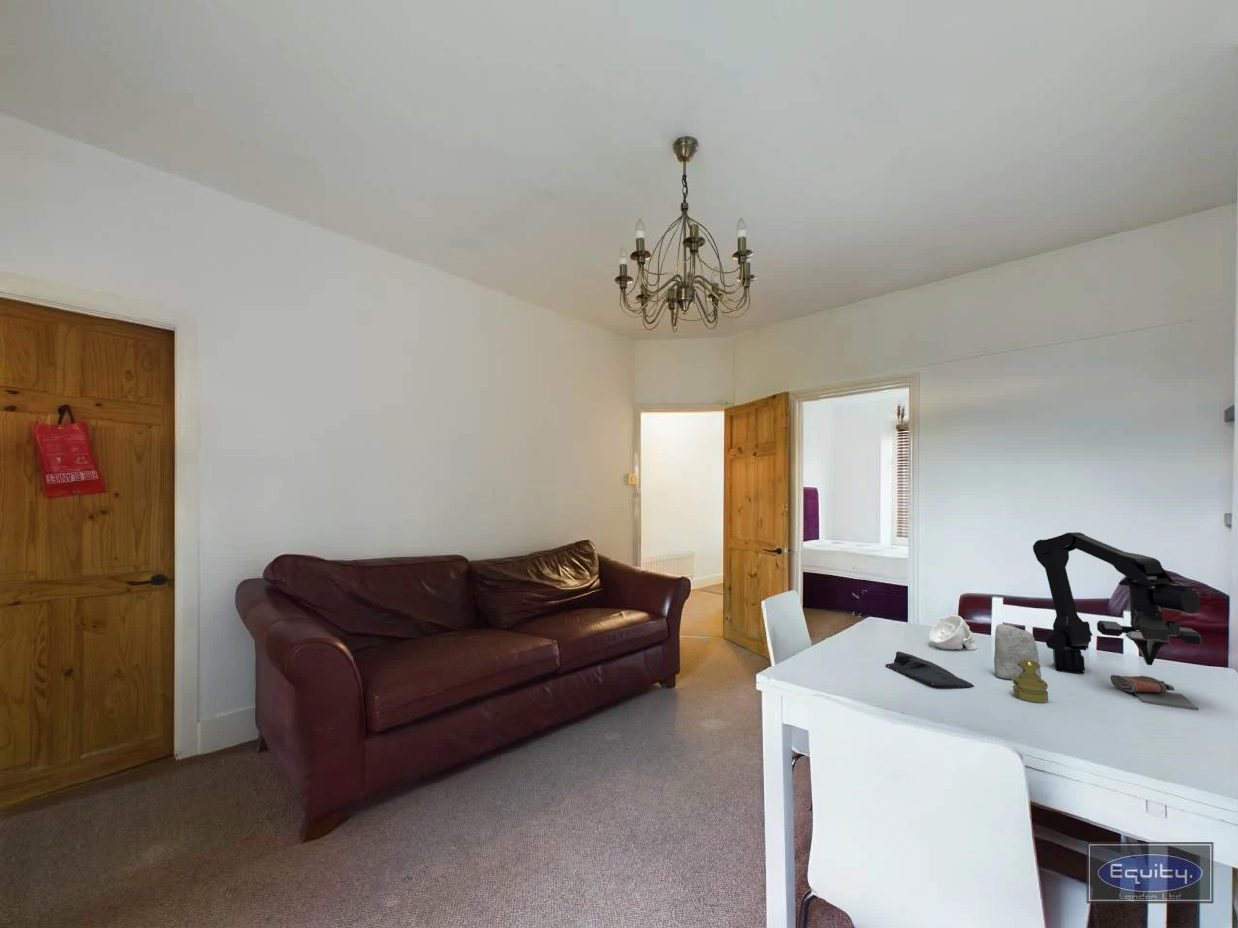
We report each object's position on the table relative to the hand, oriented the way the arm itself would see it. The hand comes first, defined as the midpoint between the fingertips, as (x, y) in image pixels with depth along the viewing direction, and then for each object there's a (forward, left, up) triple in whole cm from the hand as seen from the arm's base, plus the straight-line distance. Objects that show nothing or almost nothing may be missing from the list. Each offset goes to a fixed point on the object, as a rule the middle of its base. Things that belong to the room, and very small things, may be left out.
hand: (1149, 664), depth 136 cm
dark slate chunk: (-51, -9, -9) cm, 52 cm away
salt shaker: (-27, -15, -9) cm, 32 cm away
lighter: (-5, +2, -6) cm, 9 cm away
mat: (+2, 0, -8) cm, 9 cm away
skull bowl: (-43, +27, -9) cm, 51 cm away
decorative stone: (-28, +1, -9) cm, 29 cm away
